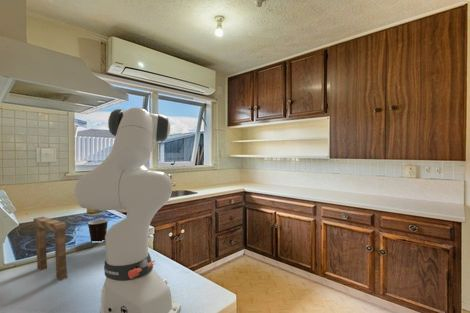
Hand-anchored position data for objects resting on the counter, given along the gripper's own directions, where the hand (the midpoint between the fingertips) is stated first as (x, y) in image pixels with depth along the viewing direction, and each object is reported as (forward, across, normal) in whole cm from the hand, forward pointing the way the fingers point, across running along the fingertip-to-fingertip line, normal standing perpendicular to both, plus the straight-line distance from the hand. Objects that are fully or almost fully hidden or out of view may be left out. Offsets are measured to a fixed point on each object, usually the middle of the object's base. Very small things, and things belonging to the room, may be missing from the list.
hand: (93, 198), depth 111 cm
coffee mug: (-7, +11, -24) cm, 27 cm away
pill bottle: (0, 0, -7) cm, 7 cm away
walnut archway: (+19, -4, -24) cm, 30 cm away
